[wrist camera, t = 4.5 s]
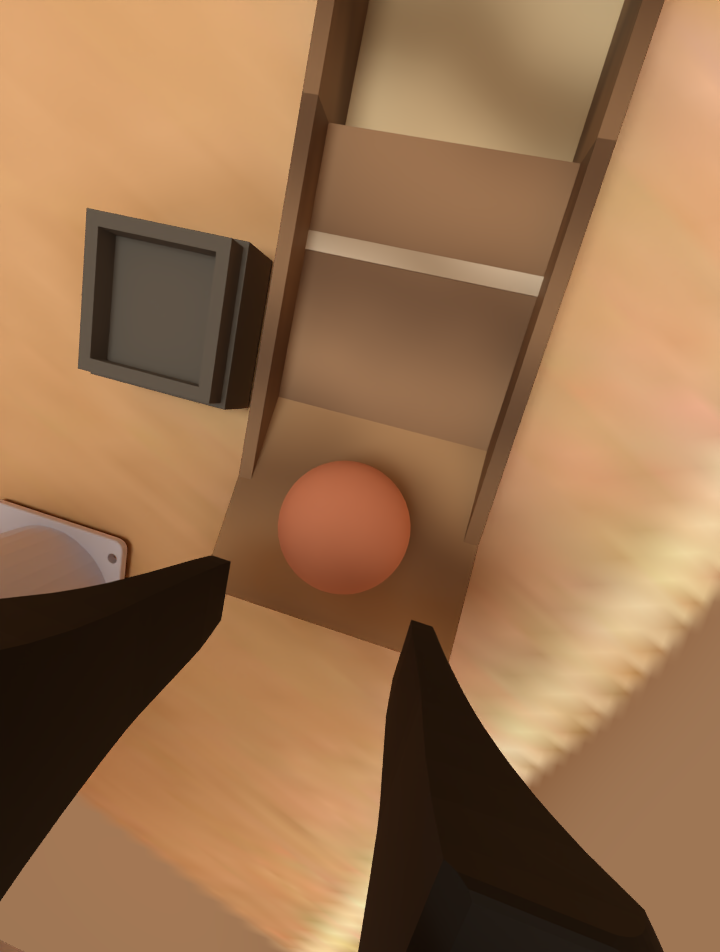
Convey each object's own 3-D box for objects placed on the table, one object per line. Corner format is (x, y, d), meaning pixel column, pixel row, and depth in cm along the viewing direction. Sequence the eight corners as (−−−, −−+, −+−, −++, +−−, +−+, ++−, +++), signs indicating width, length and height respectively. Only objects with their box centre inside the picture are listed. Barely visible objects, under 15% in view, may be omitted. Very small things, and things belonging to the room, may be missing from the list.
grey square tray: (248, 407, 17) (213, 410, 14) (127, 375, 18) (73, 372, 15) (272, 261, 15) (238, 232, 13) (140, 233, 16) (82, 200, 13)
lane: (441, 605, 17) (444, 677, 13) (255, 547, 18) (200, 594, 14) (662, -65, 11) (801, -344, 7) (373, -91, 13) (343, -346, 8)
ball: (395, 557, 14) (435, 467, 12) (373, 645, 11) (423, 537, 9) (296, 518, 15) (320, 424, 13) (244, 591, 11) (265, 476, 9)
